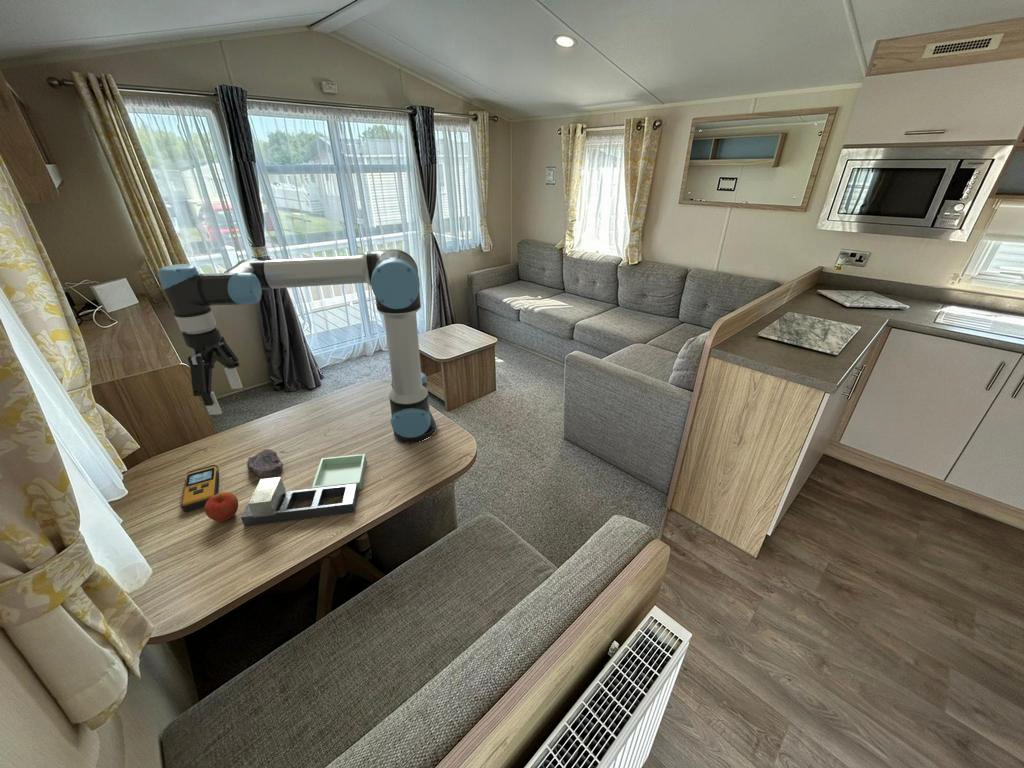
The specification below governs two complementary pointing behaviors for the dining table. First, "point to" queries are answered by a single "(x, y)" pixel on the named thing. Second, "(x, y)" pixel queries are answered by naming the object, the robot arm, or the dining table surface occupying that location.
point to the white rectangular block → (267, 497)
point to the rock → (265, 464)
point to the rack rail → (314, 511)
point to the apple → (221, 506)
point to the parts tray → (340, 471)
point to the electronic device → (200, 487)
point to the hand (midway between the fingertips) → (227, 400)
